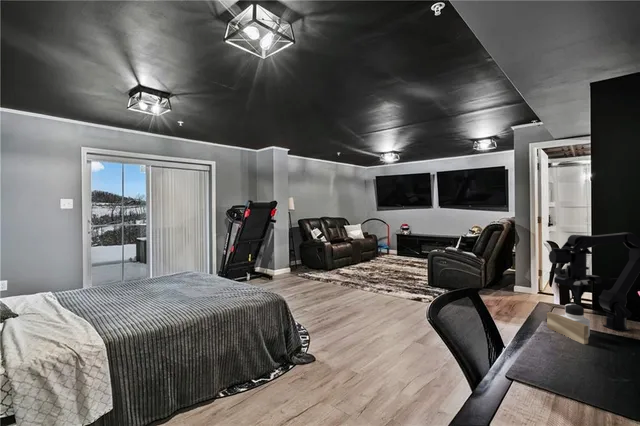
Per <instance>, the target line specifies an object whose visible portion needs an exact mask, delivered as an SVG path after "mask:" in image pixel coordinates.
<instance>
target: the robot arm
mask: <svg viewBox="0 0 640 426" xmlns="http://www.w3.org/2000/svg"><path fill="white" fill-rule="evenodd" d="M620 243H623V244H624V246H625V247H626V248H628V249H629V251H628V258H629V260H628V262H627V263H626V265H625V266H624V268H623V269H622V271H621V273H620V275H619V276H618V277H617V279H616V280H615V281H616V282H615V283H614V284H613V285H612V287H611V288H610V289H608V290H606V289H603V290H602V292H601V293H600V295H598V303H599V305H600V307H602V310H603V311H605V312H606V318H605V319H606V322H605V324H603V325H602V327H604V328H608V329H611V330H613V331H616V332H626V331H631V328H629V327H627V318H631V317H632V314H633V312H631V310H630V309H628V308H627V307H626V306H627V303H628V301H627V300H628V299H627V294H628V292H629V291H630V290H631V287H632V286H633V285H634V283H635V281H636V280H637V278H638V276H639V275H640V237H639V236H637V235H636V234H634V233H632V232H624V231H622V232H619V233H618V232H617V233H608V234H606V233H605V234H597V235H596V234H595V235H586V234H585V235H584V234H571V235H569V236H568V238H567V241H566V242H565V243H564V244H563V245H562V246H561V248H558V247H551V250H550V252H549V254H548V260H549V262H550V263H551V264H559V265H560V264H562V265H565V264H566V268H562V267H560V266H556V267H554V274H555V277H554V278H553V279H554V281H553V282H554V284H559V285H562V286H567V287H568V286H569V287H570V288H571V290H572V293H573V295H574V298H575V300H577V301H578V300H579V301H580V300H581V298H582V296H584V294H585V293H586V291H587V290H588V289H589V287H591V286H592V284H590V283H588V282H594V283H595V284H596V285H597V284H602V283H603V278H602V277H601V276H599V275H594V274H587V271H588V270H589V271H590V267H589V266H587V265H588V264H587V263H588V262H587V260H588V259H587V257H588V256H587V255H593V252H592V250H590V249H591V248H593V247H595V246H598V245H599V246H600V245H610V244H611V245H612V244H620Z"/></svg>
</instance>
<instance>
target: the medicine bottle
mask: <svg viewBox="0 0 640 426" xmlns="http://www.w3.org/2000/svg"><path fill="white" fill-rule="evenodd" d="M584 310H585V308H584V307H583V306H581V305H579V304H576V303H567V304H565V305H564V314H559V315H560V316H563V317H566V318H569V319H571V320H574V321H577V322H579V323H582V324H585V325H587V326H588V338H589V337H591V336H590V334H591V330H590V329H591V325H590V321H591V319H589V318H588V317H585V312H584Z"/></svg>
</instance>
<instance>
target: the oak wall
mask: <svg viewBox="0 0 640 426" xmlns="http://www.w3.org/2000/svg"><path fill="white" fill-rule="evenodd" d="M546 315H547V317H546V319H547V320H546V321H547V322H546V329H547V328H549V329H548V330H550V329H551V330H550V331H552V330H554V331H556V332H555V333H557V332H558V333H557V334H559V333H560V334H559V335H561V334H563V335H562V336H564V335H565V336H564V337H566V338H568V337H569V338H568V339H570V338H571V340H573V341H576V342H577V343H580V344H582V345H588V344H589V337H588V326H587V325H585V324H582V323H579V322H577V321H574V320H571V319H569V318H566V317H563V316H560V315H561V314H557V313H555V312H552V311H548V312H547V314H546ZM554 331H553V332H554Z"/></svg>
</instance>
